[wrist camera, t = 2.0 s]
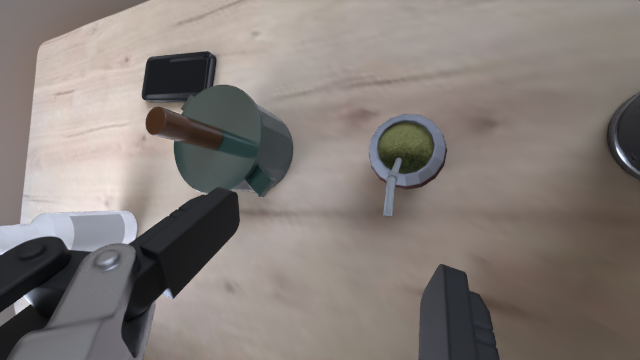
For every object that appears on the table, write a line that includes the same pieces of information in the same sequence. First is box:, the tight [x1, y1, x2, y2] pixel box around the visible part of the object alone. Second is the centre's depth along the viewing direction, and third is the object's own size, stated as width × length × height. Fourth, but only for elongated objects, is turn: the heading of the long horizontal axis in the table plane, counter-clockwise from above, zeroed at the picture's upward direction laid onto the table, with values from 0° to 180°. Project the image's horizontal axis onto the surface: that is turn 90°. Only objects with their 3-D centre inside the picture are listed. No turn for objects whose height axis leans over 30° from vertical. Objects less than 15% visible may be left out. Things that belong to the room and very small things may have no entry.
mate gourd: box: [369, 114, 447, 216], centre depth 23 cm, size 8×8×15 cm
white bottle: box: [0, 210, 137, 255], centre depth 38 cm, size 7×7×18 cm
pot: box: [181, 94, 293, 197], centre depth 33 cm, size 11×17×8 cm
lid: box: [146, 85, 264, 194], centre depth 26 cm, size 13×13×8 cm
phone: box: [142, 51, 216, 102], centre depth 43 cm, size 8×1×15 cm
